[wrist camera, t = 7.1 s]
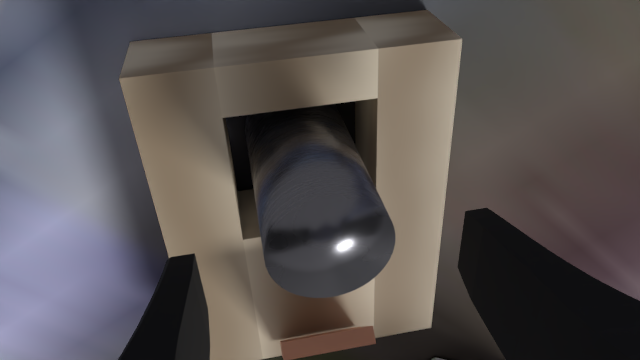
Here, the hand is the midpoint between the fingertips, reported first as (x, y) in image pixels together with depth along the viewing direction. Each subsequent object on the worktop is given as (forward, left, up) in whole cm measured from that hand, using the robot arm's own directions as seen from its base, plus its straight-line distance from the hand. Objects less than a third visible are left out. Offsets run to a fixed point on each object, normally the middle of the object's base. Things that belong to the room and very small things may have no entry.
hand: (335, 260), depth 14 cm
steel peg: (0, 0, -7) cm, 7 cm away
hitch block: (0, +3, -7) cm, 8 cm away
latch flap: (0, +6, -3) cm, 7 cm away
